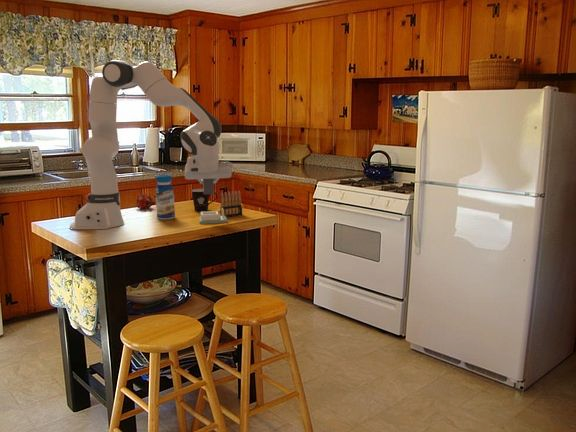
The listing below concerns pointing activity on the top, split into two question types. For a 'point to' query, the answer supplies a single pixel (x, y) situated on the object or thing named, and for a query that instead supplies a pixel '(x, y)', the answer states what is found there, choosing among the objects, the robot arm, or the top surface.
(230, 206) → the ammunition clip
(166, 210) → the blue and white bottle
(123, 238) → the top surface
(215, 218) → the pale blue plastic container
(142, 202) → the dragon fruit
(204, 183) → the plug
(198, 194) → the coffee mug
